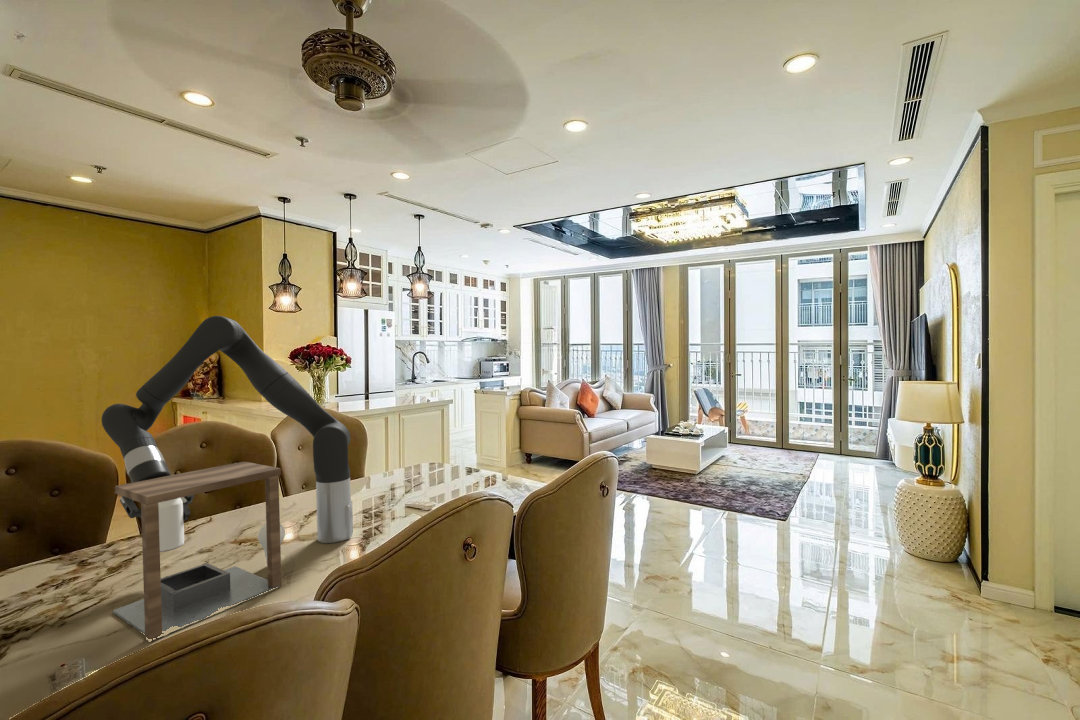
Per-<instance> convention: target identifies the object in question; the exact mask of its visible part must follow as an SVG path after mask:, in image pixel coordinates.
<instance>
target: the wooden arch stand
mask: <svg viewBox="0 0 1080 720" xmlns="http://www.w3.org/2000/svg"><path fill="white" fill-rule="evenodd" d="M281 471H282V469H281V468H280V467H277V466H276V467H275V466H270V465H266V464H259V463H255V462H250V461H239V462H234V463H229V464H224V465H219V466H214V467H207V468H203V469H198V470H192V471H191V470H190V471H186V472H183V473H177V474H171V475H170V476H165V477H160V478H155V479H149V480H144V481H139V482H134V483H131V482H129V483H124V484H119V485H118V484H117V485H115V486H114V494H116V495H118V496H120V497H121V496H124V497H126V498H129V499H132V500H133V501H134V502H138V503H140V509H141V518H140V519H141V541H142V542H141V546H142V547H141V548H142V550H141V551H142V576H143V599H144V614H145V635H144V638H145V637H147V638H148V639H152V641H153V642H154V641H156V640H153V638H155V637H157V636H160V635H161V634H162V605H161V578H162V577H161V576H162V575H161V552H160V541H159V509H158V503H159V502H163V501H168V500H172V499H177V498H181V497H185V496H190V495H194V496H195V495H198V494H202V493H206V492H207V493H208V492H211V491H216V490H220V489H224V488H229V487H234V486H238V485H243V484H246V483H250V482H255V481H260V480H264V485H265V486H264V489H265V490H264V491H265V521H266V522H265V524H266V531H267V562H266V565H267V580H268V586H270V587H275V588H276V586H278V585H279V586H281V585H282V583H283V582H282V557H281V555H282V553H281V545H280V524H281V520H280V517H281V515H280V513H281V512H280V483H279V476H281V475H282V472H281ZM279 586H278V587H279ZM279 588H280V587H279ZM161 638H163V637H160V639H161ZM157 640H159V638H157ZM152 641H151V642H148V643H153V642H152Z"/></svg>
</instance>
